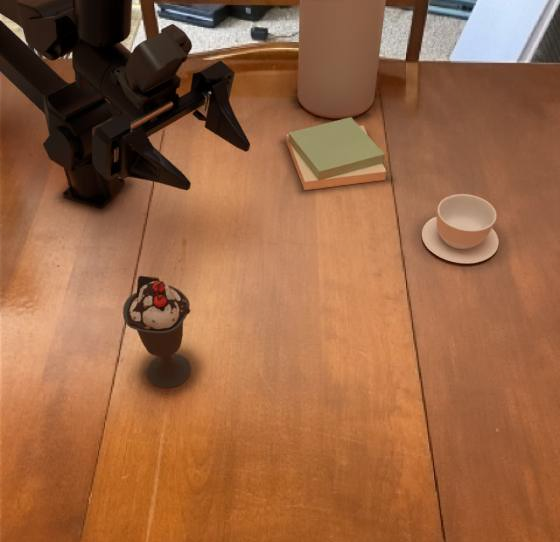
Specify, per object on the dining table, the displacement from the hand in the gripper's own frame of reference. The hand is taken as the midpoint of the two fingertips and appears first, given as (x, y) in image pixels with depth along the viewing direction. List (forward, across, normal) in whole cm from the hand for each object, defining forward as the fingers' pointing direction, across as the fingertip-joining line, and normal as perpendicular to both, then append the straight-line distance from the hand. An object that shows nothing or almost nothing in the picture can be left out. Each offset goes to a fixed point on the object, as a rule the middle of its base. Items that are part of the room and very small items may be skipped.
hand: (219, 167), depth 73 cm
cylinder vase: (-9, +41, +20) cm, 47 cm away
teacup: (+23, +25, +10) cm, 35 cm away
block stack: (0, +28, +16) cm, 32 cm away
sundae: (+10, -16, +13) cm, 23 cm away
